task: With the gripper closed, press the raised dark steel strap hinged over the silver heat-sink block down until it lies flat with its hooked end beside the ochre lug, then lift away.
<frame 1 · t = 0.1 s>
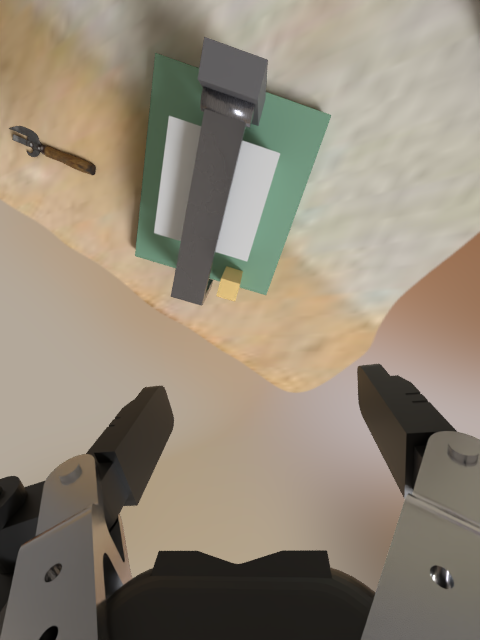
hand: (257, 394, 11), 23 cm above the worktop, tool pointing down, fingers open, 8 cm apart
cpu board: (222, 194, 28), on the worktop
strap: (209, 213, 24), point 6 cm above the worktop, hinge at 0.4°, touching cpu board
can opener: (58, 152, 28), on the worktop
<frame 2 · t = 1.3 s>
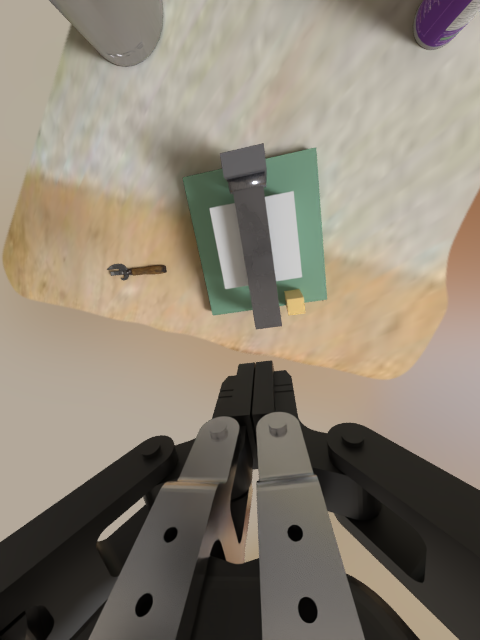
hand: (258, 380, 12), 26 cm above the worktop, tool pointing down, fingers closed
cpu board: (258, 240, 35), on the worktop
strap: (259, 256, 30), point 6 cm above the worktop, hinge at 0.3°, touching cpu board
can opener: (139, 269, 38), on the worktop
container: (436, 21, 26), on the worktop
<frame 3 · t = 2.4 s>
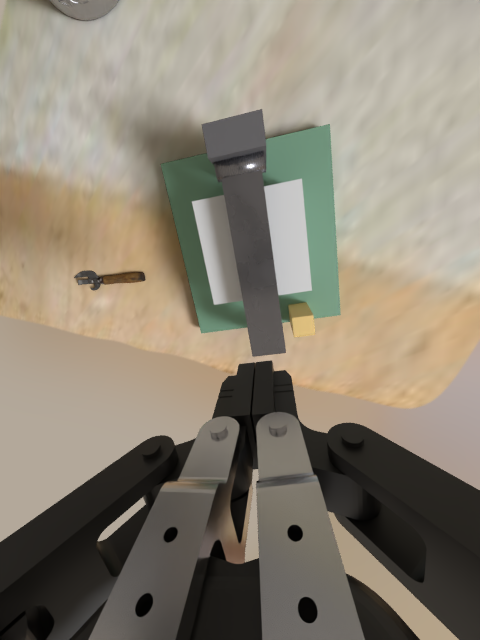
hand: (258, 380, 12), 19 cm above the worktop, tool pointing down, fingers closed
cpu board: (256, 243, 28), on the worktop
strap: (256, 263, 24), point 6 cm above the worktop, hinge at 0.3°, touching cpu board
can opener: (112, 276, 32), on the worktop
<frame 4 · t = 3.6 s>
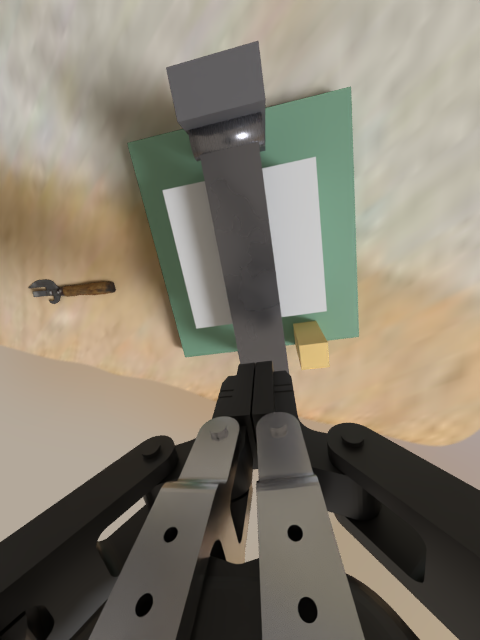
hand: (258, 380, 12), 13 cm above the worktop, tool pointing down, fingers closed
cpu board: (253, 246, 22), on the worktop
strap: (252, 274, 18), point 6 cm above the worktop, hinge at 0.3°, touching cpu board
can opener: (76, 286, 26), on the worktop
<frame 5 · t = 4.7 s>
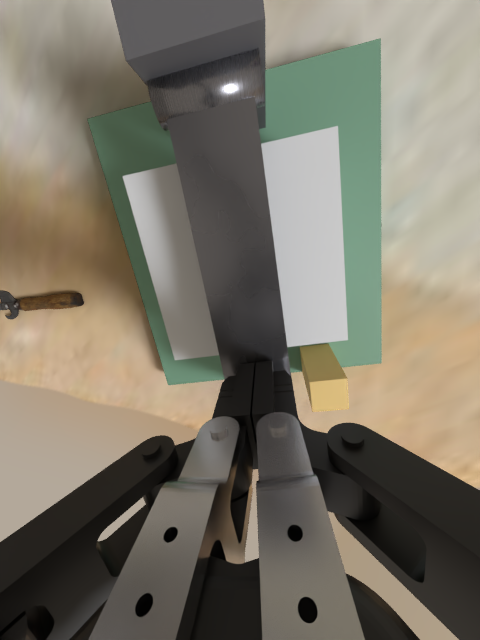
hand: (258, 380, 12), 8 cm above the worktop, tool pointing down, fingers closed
cpu board: (250, 251, 18), on the worktop
strap: (248, 289, 13), point 6 cm above the worktop, hinge at 0.2°, touching cpu board, gripper
can opener: (38, 298, 22), on the worktop
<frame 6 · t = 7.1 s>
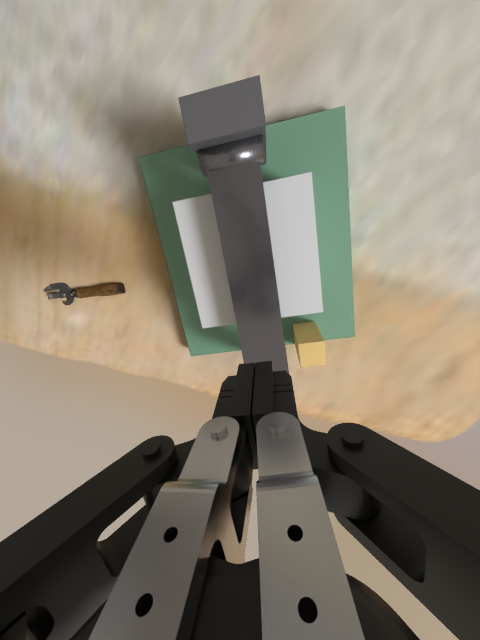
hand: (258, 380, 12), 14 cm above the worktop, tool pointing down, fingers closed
cpu board: (255, 251, 24), on the worktop
strap: (254, 277, 19), point 6 cm above the worktop, hinge at 0.0°, touching cpu board
can opener: (88, 288, 27), on the worktop
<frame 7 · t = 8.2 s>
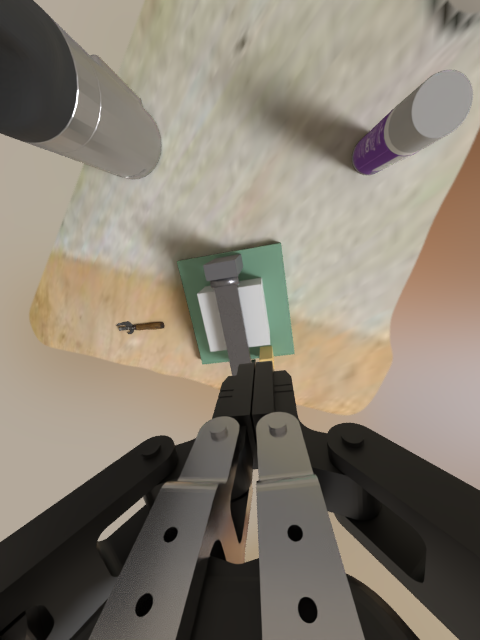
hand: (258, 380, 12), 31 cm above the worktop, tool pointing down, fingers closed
cpu board: (238, 306, 43), on the worktop
strap: (236, 327, 38), point 6 cm above the worktop, hinge at 0.0°, touching cpu board
can opener: (141, 324, 47), on the worktop
container: (369, 155, 35), on the worktop
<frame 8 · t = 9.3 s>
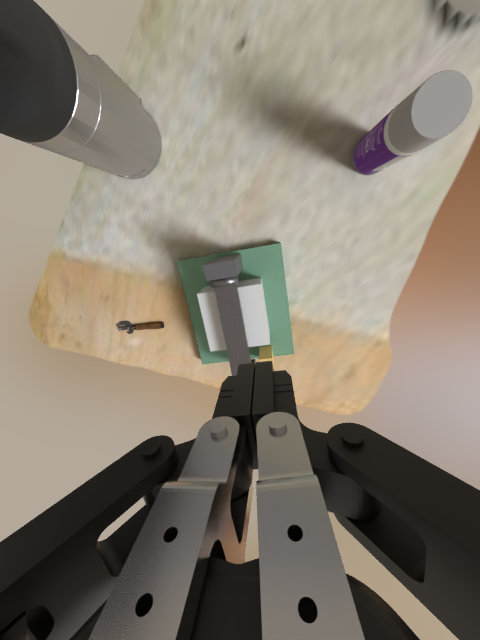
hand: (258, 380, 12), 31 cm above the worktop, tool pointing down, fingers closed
cpu board: (238, 306, 43), on the worktop
strap: (236, 327, 38), point 6 cm above the worktop, hinge at 0.0°, touching cpu board
can opener: (141, 324, 47), on the worktop
container: (369, 156, 35), on the worktop
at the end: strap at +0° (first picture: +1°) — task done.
